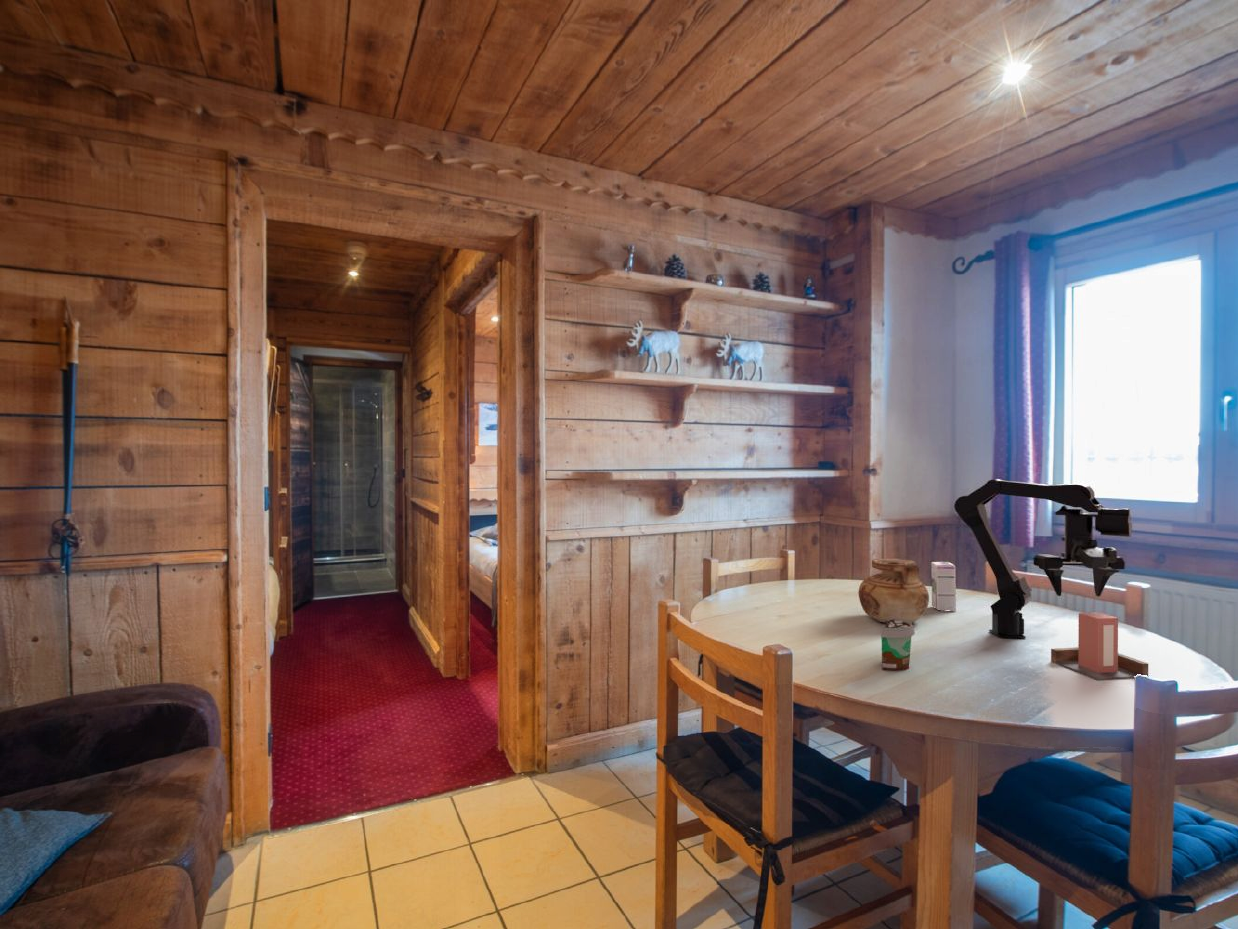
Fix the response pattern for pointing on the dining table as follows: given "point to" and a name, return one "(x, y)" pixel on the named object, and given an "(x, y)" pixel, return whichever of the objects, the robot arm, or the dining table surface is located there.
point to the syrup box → (943, 586)
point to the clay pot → (894, 591)
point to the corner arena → (1125, 670)
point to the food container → (896, 644)
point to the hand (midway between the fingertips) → (1078, 596)
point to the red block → (1098, 642)
